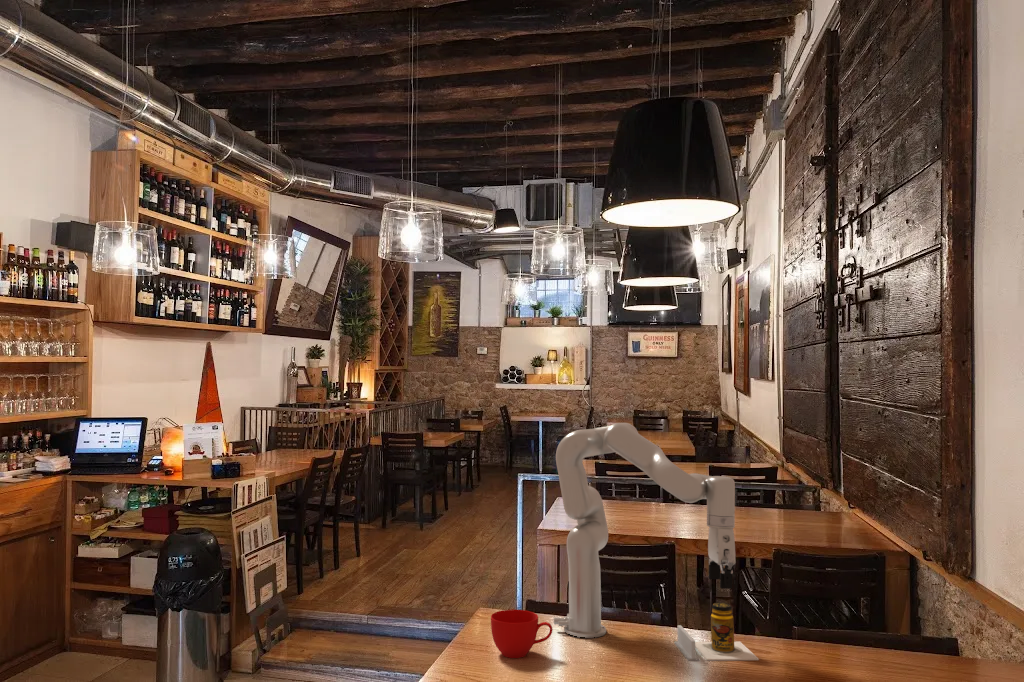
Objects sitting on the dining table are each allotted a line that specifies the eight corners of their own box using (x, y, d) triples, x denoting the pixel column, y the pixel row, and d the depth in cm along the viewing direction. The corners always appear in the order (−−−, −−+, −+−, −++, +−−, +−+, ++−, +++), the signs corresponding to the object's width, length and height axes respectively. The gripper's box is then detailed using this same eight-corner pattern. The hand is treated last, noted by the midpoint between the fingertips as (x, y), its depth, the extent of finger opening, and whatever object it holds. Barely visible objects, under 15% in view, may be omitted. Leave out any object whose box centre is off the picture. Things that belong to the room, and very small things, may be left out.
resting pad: (706, 660, 188) (706, 658, 188) (691, 643, 202) (691, 641, 202) (758, 660, 189) (758, 658, 189) (740, 642, 203) (740, 641, 203)
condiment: (719, 654, 192) (718, 609, 193) (701, 644, 200) (700, 600, 201) (742, 652, 194) (741, 606, 195) (723, 642, 202) (722, 598, 203)
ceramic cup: (548, 665, 185) (548, 625, 186) (485, 660, 188) (485, 621, 189) (555, 649, 197) (555, 611, 198) (496, 644, 201) (496, 608, 202)
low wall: (688, 660, 188) (687, 641, 189) (674, 643, 202) (673, 625, 203) (699, 660, 188) (698, 641, 189) (684, 643, 202) (684, 625, 203)
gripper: (745, 527, 190) (744, 592, 189) (723, 516, 208) (723, 576, 206) (717, 526, 190) (716, 591, 189) (698, 515, 207) (697, 575, 206)
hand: (720, 583), depth 198 cm, fingers open, 9 cm apart
